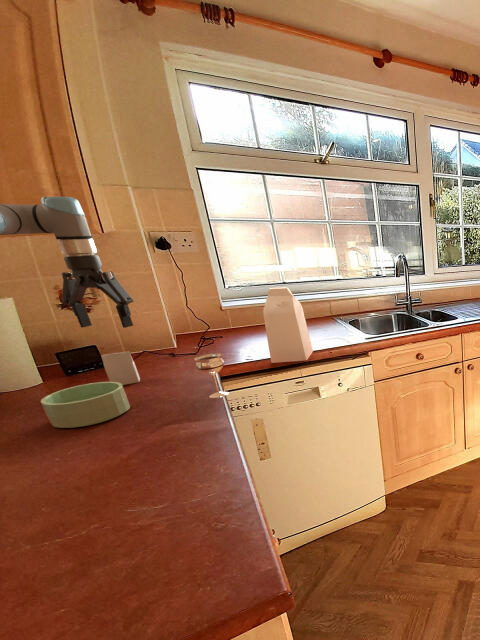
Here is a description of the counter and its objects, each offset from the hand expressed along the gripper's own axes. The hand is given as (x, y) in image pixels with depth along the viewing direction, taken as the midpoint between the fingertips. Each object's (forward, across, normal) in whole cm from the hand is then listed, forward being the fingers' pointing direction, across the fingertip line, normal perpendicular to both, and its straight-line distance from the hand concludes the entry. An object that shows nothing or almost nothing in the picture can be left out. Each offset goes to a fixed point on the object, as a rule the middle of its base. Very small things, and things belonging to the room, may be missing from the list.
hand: (107, 326), depth 130 cm
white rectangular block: (+19, +1, 0) cm, 19 cm away
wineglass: (+19, -37, +9) cm, 42 cm away
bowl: (+19, -13, +24) cm, 33 cm away
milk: (+19, -40, -28) cm, 52 cm away
